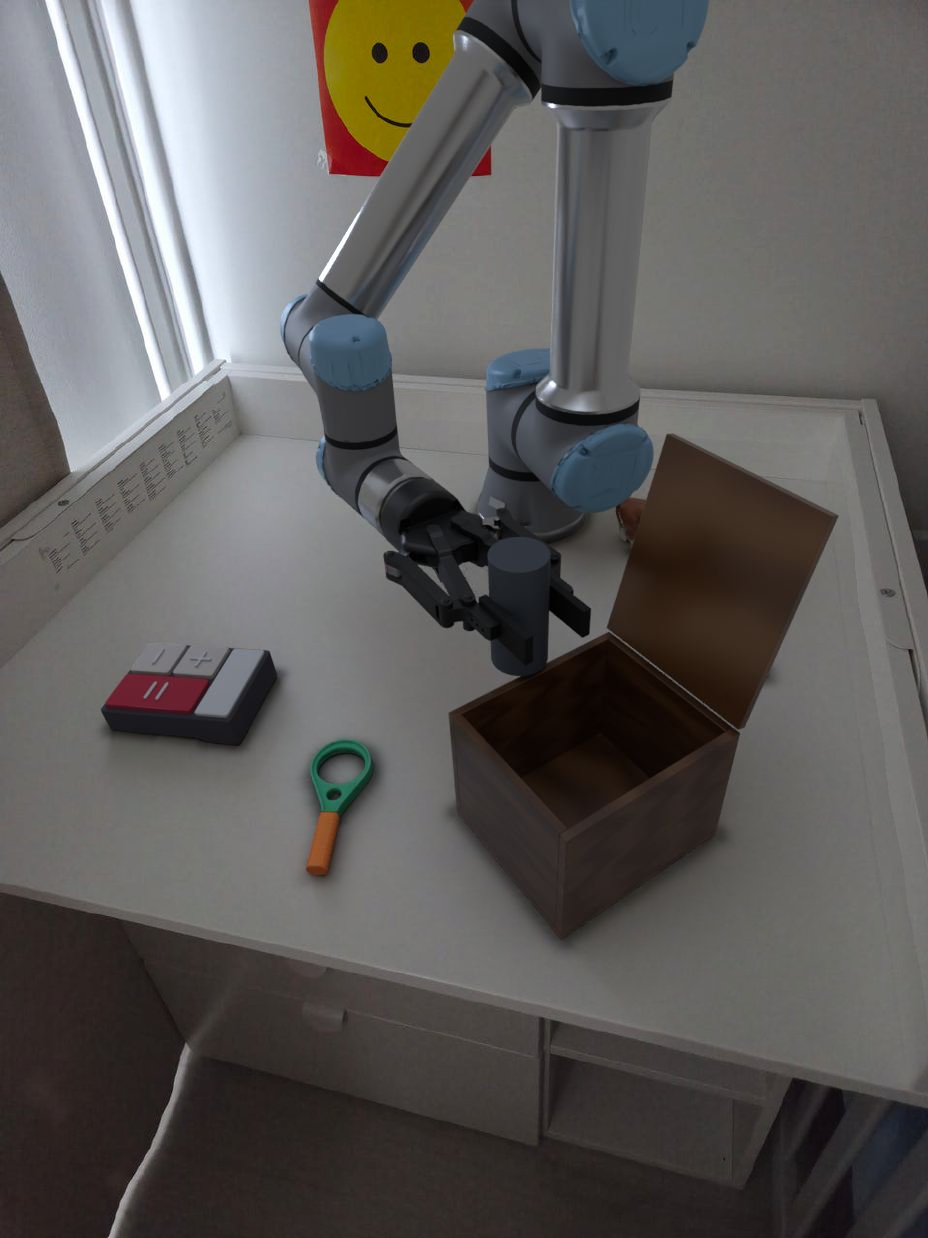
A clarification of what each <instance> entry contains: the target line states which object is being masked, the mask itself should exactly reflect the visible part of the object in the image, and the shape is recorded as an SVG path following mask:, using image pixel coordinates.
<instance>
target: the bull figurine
mask: <svg viewBox="0 0 928 1238" xmlns="http://www.w3.org/2000/svg"><path fill="white" fill-rule="evenodd" d="M645 502H646V499H643V498H638V497H631V496H630V497H629V498H628V499H627V500H626V501H624V502H623V503H621V504H619V505H618V506H616V507H615V516H616V520H617V523H618V528H619V535H620V538H621V539H622V541H624V542H626V541H628V542H630V546H631V548H632V544H633V541H634V538H635V535H636V531H637V528H638V525H639V522H640V519H641V515H642V512H643V509H644V506H645Z"/></svg>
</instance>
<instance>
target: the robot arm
mask: <svg viewBox="0 0 928 1238" xmlns="http://www.w3.org/2000/svg"><path fill="white" fill-rule="evenodd" d="M709 4H710V0H473V1H472V2H471V4H470V6H469V7H468V9H467V11H466V13H465V14H464V16H463V18H462V20H460V23H459V24H458V26H457V27H456V29H455V30H454V33H453V35H452V41H453V49H454V53H453V56H452V58H451V59H450V61H449V63H448V64H447V66H446V68H445V69H444V71H443V72H442V74H441V76H440V77H439V78H438V80H437V82H436V84H435V86H434V88H433V89H432V90H431V92H430V94H429V96H428V97H427V99H426V100H425V102H424V103H423V105H422V107H421V109H420V110H419V111H418V113H417V115H416V117H415V118H414V120H413V122H412V123H411V125H410V126H409V128H408V130H407V131H406V133H405V135H404V136H403V138H402V140H401V141H400V143H399V145H398V147H397V148H396V150H395V151H394V153H393V154H392V157H391V158H390V159H389V161H388V163H387V165H386V166H385V168H384V170H383V171H382V172H381V174H380V176H379V178H378V179H377V181H376V183H375V184H374V186H373V188H372V189H371V191H370V192H369V195H367V197H366V199H365V200H364V203H363V204H362V206H361V207H360V209H359V210H358V212H357V214H356V216H355V217H354V219H353V221H352V222H351V223H350V225H349V227H348V229H347V230H346V232H345V234H344V235H343V237H342V239H341V240H340V242H339V243H338V246H337V247H336V249H335V250H334V252H333V253H332V255H331V256H330V258H329V260H328V261H327V263H326V265H325V266H324V268H323V270H322V272H321V273H320V275H319V276H318V278H317V279H316V281H315V283H314V284H313V285H312V287H311V289H310V290H309V292H308V293H305V294H302V295H299V296H297V297H295V298H294V299H293V300H291V301H289V302H288V303H287V305H286V307H285V308H284V310H283V312H282V314H281V317H280V321H279V322H280V323H279V331H280V337H281V340H282V342H283V345H284V348H285V350H286V354H287V355H288V356H289V358H290V360H291V361H292V362H293V363H294V364H295V365H296V366H297V367H298V369H299V370H300V371H301V373H302V375H303V378H304V379H305V380H306V381H307V383H308V385H309V386H310V387H311V389H312V390H313V392H314V393H315V395H316V397H317V401H318V406H319V411H320V416H321V422H322V427H323V434H324V435H322V437H321V439H320V441H319V444H318V446H317V450H316V454H315V465H316V468H317V471H318V473H319V475H320V476H321V478H322V479H323V480H324V481H325V483H326V484H327V486H328V487H330V490H331V491H332V492H333V493H334V494H335V495H336V496H337V497H339V498H340V499H341V500H343V501H344V502H345V503H346V504H347V505H348V506H349V507H351V509H352V510H354V511H355V512H356V513H357V514H358V515H359V516H361V518H363V519H364V520H365V521H367V523H368V524H369V525H370V526H372V527H373V528H374V529H375V530H376V531H377V532H378V533H379V534H380V535H381V536H382V537H383V538H384V539H385V540H386V541H387V542H388V543H389V544H390V545H391V546H392V547H393V548H394V549H395V550H396V551H395V550H386V551H385V552H384V553H383V555H382V557H383V562H384V571H385V572H384V573H385V578H386V580H388V581H390V582H392V583H394V584H397V585H399V586H401V587H403V589H404V590H405V591H406V592H407V593H408V594H409V595H410V596H411V597H412V598H413V599H414V600H415V601H416V602H417V603H418V605H420V606H421V607H422V608H423V609H424V610H425V612H426V613H428V615H430V616H431V617H432V619H433V620H434V621H435V622H436V623H437V624H438V625H439V626H440V627H441V628H443V629H450V628H452V627H454V626H455V623H458V622H462V628H463V630H464V631H466V632H473V631H476V632H477V633H478V634H479V635H480V636H482V637H483V638H484V639H485V640H487V641H489V642H491V641H492V640H494V639H497V640H498V641H499V642H500V643H501V644H502V645H504V646H505V647H506V648H507V649H508V650H509V651H510V652H511V653H512V654H513V655H514V656H515V657H516V658H517V659H518V660H520V661H521V662H522V663H523V664H524V665H525V666H526V665H528V664H530V663H532V662H533V635H531V634H530V633H529V632H528V631H527V630H526V629H525V628H524V627H522V626H521V625H520V624H519V623H518V622H517V621H516V620H515V619H513V618H512V617H511V616H510V615H509V614H508V613H507V612H506V611H504V610H503V609H502V608H501V607H500V606H499V605H498V604H497V603H495V602H494V601H493V600H492V599H491V598H490V597H489V595H487V594H482V595H481V596H478V597H476V594H475V592H474V591H473V589H472V587H471V585H470V584H469V582H468V580H467V579H466V577H465V575H464V573H463V571H462V570H461V567H460V566H461V565H462V564H464V563H465V564H467V563H470V564H473V565H475V566H477V567H479V568H485V567H488V551H489V549H490V548H491V547H492V546H493V545H494V544H495V543H497V542H498V541H501V540H503V539H506V538H511V537H528V538H533V539H536V540H538V541H540V542H542V543H544V544H545V545H546V546H547V547H548V548H549V550H550V554H551V560H550V599H549V613H551V614H552V615H554V616H555V617H556V618H557V619H558V620H559V621H561V623H563V624H565V625H566V626H567V627H568V628H569V629H571V630H572V631H573V632H574V633H575V634H577V636H579V637H580V638H582V639H584V638H586V637H588V636H590V634H591V633H590V632H591V618H592V608H591V607H590V606H589V605H587V604H586V603H585V602H583V601H582V600H581V599H580V598H579V597H577V596H576V595H575V594H574V592H575V590H574V588H573V586H572V585H571V584H570V583H568V582H567V581H565V580H564V579H563V578H561V574H562V573H561V571H562V553H561V552H559V551H558V550H556V549H555V548H554V547H553V546H551V544H549V543H551V542H555V541H559V540H561V539H564V538H566V537H569V536H570V535H572V534H574V533H575V532H577V531H578V530H579V529H580V528H581V527H582V526H583V524H584V521H585V519H586V514H597V513H603V512H606V511H609V510H612V509H614V508H616V506H618V505H619V504H621V503H623V502H624V501H626V500H627V499H628V498H629V497H630V498H631V496H632V494H633V493H634V492H636V491H638V490H639V489H640V488H641V486H642V485H643V484H644V482H645V481H646V479H647V477H648V475H649V473H650V471H651V469H652V466H653V463H654V455H655V449H654V444H653V441H652V440H651V437H649V434H648V433H647V431H646V430H645V429H644V428H643V427H640V426H639V424H638V423H639V410H640V402H641V387H640V384H638V382H637V381H636V380H635V379H634V378H633V377H632V376H631V375H630V373H629V372H630V361H631V350H632V341H633V340H632V339H633V329H634V320H635V319H634V317H635V306H636V295H637V286H638V275H639V265H640V254H641V243H642V233H643V232H642V231H643V223H644V222H643V221H644V211H645V202H646V201H645V199H646V189H647V179H648V178H647V177H648V167H649V157H650V147H651V135H652V127H653V126H652V125H653V122H655V119H656V117H658V116H659V114H660V113H661V112H662V111H663V110H664V109H665V108H666V107H667V106H668V104H670V102H671V101H672V97H673V88H674V87H673V86H674V80H675V79H674V77H675V73H676V72H677V71H678V70H679V69H681V67H682V66H683V65H684V64H685V63H686V62H687V60H688V59H689V55H688V54H689V53H690V51H692V49H694V48H696V47H697V45H698V42H699V41H700V38H701V36H702V33H703V30H704V28H705V25H706V20H707V17H708V12H709V6H710V5H709ZM539 91H541V92H540V103H541V105H542V107H543V108H544V109H545V110H546V111H547V113H548V114H549V115H550V116H551V117H552V119H553V120H554V122H555V124H556V145H555V146H556V147H555V148H556V149H555V150H556V151H555V182H554V213H553V215H554V216H553V217H554V219H553V246H552V247H553V249H552V250H553V251H552V282H551V283H552V286H551V317H550V318H551V319H550V347H548V348H547V347H538V348H537V347H536V348H528V349H527V348H526V349H520V350H516V351H511V352H507V353H505V354H501V355H499V356H498V357H496V358H494V359H493V360H492V361H491V362H490V363H489V364H488V366H487V369H486V374H485V375H486V377H485V378H486V379H485V387H484V391H485V400H486V403H485V405H486V425H487V428H486V429H487V451H488V453H487V454H488V468H487V471H486V474H485V478H484V481H483V485H482V489H481V491H480V494H479V496H478V499H477V502H476V503H477V504H476V510H477V511H476V512H477V514H476V513H473V512H469V511H467V510H466V509H465V508H464V506H463V504H462V503H461V502H460V500H459V499H458V498H457V497H456V496H455V495H454V494H453V493H452V492H450V491H449V490H448V489H447V488H445V487H444V486H443V485H441V484H440V483H439V482H437V481H436V480H435V479H434V478H433V477H431V476H430V475H428V474H427V473H426V472H424V471H423V470H422V469H420V468H419V467H418V466H417V465H415V464H414V463H413V462H411V460H409V459H408V458H406V457H405V456H404V455H403V454H402V452H401V449H400V439H399V429H398V421H397V412H396V410H397V409H396V402H395V399H396V398H395V389H394V379H393V369H392V367H393V363H392V362H393V356H392V352H391V350H390V346H389V340H388V336H387V335H388V334H387V330H386V328H385V326H384V324H383V323H382V322H381V321H380V320H379V318H380V317H381V315H382V314H383V312H384V311H385V309H386V307H387V306H388V304H389V303H390V301H391V300H392V298H393V296H394V295H395V294H396V292H397V290H398V289H399V288H400V286H401V284H402V283H403V281H404V279H405V278H406V276H407V275H408V273H409V272H410V270H411V269H412V268H413V266H414V264H415V263H416V262H417V259H419V257H420V255H421V254H422V252H423V251H424V249H425V247H426V246H427V244H428V243H429V241H430V240H431V238H432V237H433V235H434V233H435V232H436V230H437V229H438V228H439V226H440V224H441V223H442V221H443V220H444V218H445V217H446V216H447V214H448V212H449V211H450V209H451V207H452V206H453V204H454V203H455V201H456V200H457V199H458V197H459V196H460V193H461V192H462V191H463V189H464V187H465V186H466V185H467V183H468V181H469V180H470V178H471V177H472V175H473V174H474V172H475V171H476V169H477V167H478V166H479V164H480V163H481V162H482V160H483V158H484V157H485V155H486V153H487V152H488V150H489V149H490V148H491V146H492V144H493V143H494V141H495V140H496V139H497V137H498V136H499V134H500V132H501V130H502V129H503V128H504V127H505V124H506V123H507V121H508V120H509V118H510V117H511V115H512V113H513V112H514V110H516V109H518V108H523V107H528V106H531V104H532V103H533V101H534V99H535V98H536V96H537V95H538V93H539ZM420 566H421V567H426V568H427V567H429V568H431V569H432V570H433V571H434V573H435V575H436V577H437V579H438V581H439V583H442V585H443V586H444V588H445V590H446V591H445V590H444V589H443V588H442V587H441V586H440V585H439V584H437V582H436V581H435V580H434V579H433V578H432V577H430V575H429V574H428V573H426V572H425V571H424V570H423V569H422V568H421V567H420ZM476 598H477V599H478V601H477V599H476Z"/></svg>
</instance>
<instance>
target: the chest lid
mask: <svg viewBox="0 0 928 1238" xmlns="http://www.w3.org/2000/svg"><path fill="white" fill-rule="evenodd" d="M645 500H646V502H645V506H644V509H643V512H642V515H641V519H640V522H639V525H638V528H637V531H636V535H635V538H634V541H633V544H632V547H631V548H630V551H629V554H628V557H627V561H626V564H625V568H624V570H623V573H622V577H621V580H620V584H619V586H618V590H617V593H616V596H615V599H614V603H613V606H612V608H611V609H612V610H611V612H610V616H609V619H608V622H607V625H606V629H607V630H608V631H609V632H610V633H612V634H613V635H614V636H616V637H617V638H618V639H620V640H621V641H622V642H623V643H625V644H626V645H627V646H629V647H630V648H631V649H632V650H634V651H635V652H636V653H638V654H639V655H640V656H641V657H643V658H644V659H645V660H647V661H648V662H649V663H650V664H652V665H653V666H654V667H656V668H657V669H658V670H659V671H661V672H662V673H663V674H665V675H666V676H667V677H668V678H670V679H671V680H672V681H674V682H675V683H676V684H677V685H679V686H680V687H681V688H683V689H684V690H685V691H687V692H688V693H689V694H690V695H692V696H693V697H694V698H696V699H697V700H698V701H699V702H701V703H702V704H703V705H705V706H706V707H707V708H708V709H710V710H711V711H712V712H714V713H715V714H716V715H717V716H719V717H720V718H721V719H723V720H724V721H725V722H726V723H728V724H729V725H730V726H732V727H733V728H734V729H736V730H737V731H739V730H742V729H745V728H746V726H747V722H748V721H749V719H750V716H751V714H752V712H753V710H754V707H755V705H756V703H757V701H758V699H759V696H760V694H761V692H762V689H763V687H764V685H765V682H766V680H767V679H768V676H769V674H770V672H771V669H772V668H773V665H774V662H775V660H776V658H777V655H778V654H779V652H780V648H781V646H782V645H783V642H784V640H785V638H786V637H787V636H786V635H787V633H788V631H789V629H790V627H791V624H792V622H793V620H794V618H795V615H796V613H797V611H798V609H799V606H800V604H801V602H802V599H803V597H804V595H805V592H806V591H807V588H808V586H809V584H810V582H811V579H812V578H813V575H814V572H815V571H816V568H817V566H818V564H819V561H820V559H821V557H822V554H823V552H824V550H825V548H826V546H827V544H828V541H829V538H830V537H831V534H832V532H833V530H834V528H835V526H836V524H837V521H838V519H839V516H840V515H839V514H838V513H835V512H833V511H831V510H828V509H827V508H825V507H823V506H821V505H818V504H817V503H815V502H813V501H811V500H808V499H806V498H805V497H802V496H800V495H798V494H797V493H795V492H792V491H791V490H788V489H787V488H785V487H782V486H780V485H778V484H776V483H775V482H773V481H770V480H768V479H766V478H764V477H762V476H760V475H758V474H756V473H754V472H752V471H750V470H749V469H746V468H744V467H742V466H740V465H738V464H736V463H735V462H732V461H730V460H728V459H726V458H723V457H722V456H720V455H718V454H716V453H714V452H712V451H710V450H708V449H706V448H704V447H701V446H700V445H698V444H696V443H693V442H692V441H689V440H688V439H685V438H684V437H682V436H679V435H678V434H676V433H674V432H673V433H666V434H665V438H664V442H663V445H662V448H661V451H660V453H659V457H658V461H657V464H656V467H655V470H654V474H653V476H652V480H651V484H650V487H649V490H648V493H647V497H646V499H645Z"/></svg>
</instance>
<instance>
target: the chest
mask: <svg viewBox="0 0 928 1238" xmlns="http://www.w3.org/2000/svg"><path fill="white" fill-rule="evenodd" d="M448 722H449V723H448V725H449V734H450V747H451V760H452V771H453V779H454V780H453V782H454V792H455V794H454V795H455V806H456V813H457V814H458V816H459V817H460V818H461V819H462V820H463V821H464V822H465V823H466V825H467V826H468V828H469V829H470V831H472V833H474V834H475V836H476V837H477V838H478V840H479V841H480V842H481V843H482V845H483V846H484V847H485V848H486V850H488V852H489V853H490V854H491V856H492V857H493V858H494V859H495V861H496V862H497V863H498V864H499V866H500V867H501V868H502V870H504V871H505V873H506V875H508V876H509V878H510V879H511V880H512V881H513V882H514V884H515V885H516V886H517V888H518V889H519V890H520V891H521V892H522V893H523V895H524V896H525V897H526V898H527V900H528V901H529V902H530V903H531V905H532V906H533V907H534V908H535V909H536V911H537V912H538V913H539V914H540V916H541V918H543V919H544V920H545V922H546V923H547V924H548V926H549V927H550V928H551V930H553V932H554V933H555V935H557V936H558V938H559V939H560V940H563V939H565V938H566V937H568V936H569V935H570V934H572V933H573V932H575V931H576V930H578V929H579V928H581V927H582V926H584V925H586V924H587V923H588V922H589V921H591V920H592V919H595V917H597V916H598V915H600V914H601V913H603V912H604V911H606V910H607V909H608V908H610V907H612V906H613V905H614V904H616V903H618V902H619V901H620V900H622V899H623V898H624V897H627V896H628V895H629V894H631V893H632V892H633V891H635V890H636V889H638V888H639V887H641V886H642V885H644V884H645V883H646V882H649V880H651V879H652V878H654V877H655V876H657V875H658V874H660V873H661V872H662V871H665V870H666V869H668V867H670V866H672V865H673V864H674V863H676V862H677V861H679V860H680V859H681V858H683V857H685V856H686V855H687V854H689V853H690V852H692V851H693V850H695V849H696V848H698V847H700V846H701V845H703V843H705V842H706V841H708V840H709V839H711V838H713V837H714V836H716V833H717V829H718V826H719V822H720V817H721V813H722V810H723V809H722V808H723V805H724V801H725V797H726V794H727V789H728V786H729V781H730V777H731V773H732V769H733V765H734V760H735V757H736V751H737V749H738V745H739V744H738V743H739V740H740V737H741V733H740V731H739V730H738V729H736V728H735V727H733V725H731V724H730V723H729V722H727V721H726V720H725V719H724V718H722V717H721V716H720V715H718V714H717V713H716V712H714V711H713V710H712V709H711V708H709V707H708V706H707V705H705V704H704V703H703V702H702V701H700V700H699V699H698V698H696V697H695V696H694V695H693V694H691V693H690V692H689V691H687V690H686V689H685V688H684V687H682V686H681V685H680V684H678V683H677V682H676V681H674V680H673V679H672V678H671V677H669V676H668V675H667V674H665V673H664V672H663V671H662V670H660V669H659V668H658V667H656V666H655V665H654V664H653V663H651V662H650V661H649V660H647V659H646V658H645V657H643V656H642V655H641V654H640V653H638V652H637V651H636V650H634V649H633V648H632V647H631V646H629V645H628V644H627V643H625V642H624V641H623V640H622V639H620V638H619V637H618V636H616V635H615V634H614V633H612V632H611V631H607V632H605V633H603V634H600V635H599V636H597V637H596V638H593V639H591V640H590V641H589V640H588V642H585V643H584V644H582V645H580V646H578V647H575V648H573V649H572V650H570V651H567V652H566V653H564V654H562V655H560V656H557V657H555V658H554V659H552V660H550V661H547V663H546V665H545V666H544V667H543V668H542V669H541V670H540V671H538V672H536V673H534V674H531V675H527V676H517V677H516V678H514V679H512V680H510V681H508V682H506V683H504V684H502V685H500V686H499V687H496V688H493V690H491V691H489V692H486V693H484V694H483V695H481V696H478V697H477V698H475V699H472V700H471V701H469V702H467V703H464V704H462V705H461V706H458V707H457V708H455V709H453V710H450V711H449V712H448Z"/></svg>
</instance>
